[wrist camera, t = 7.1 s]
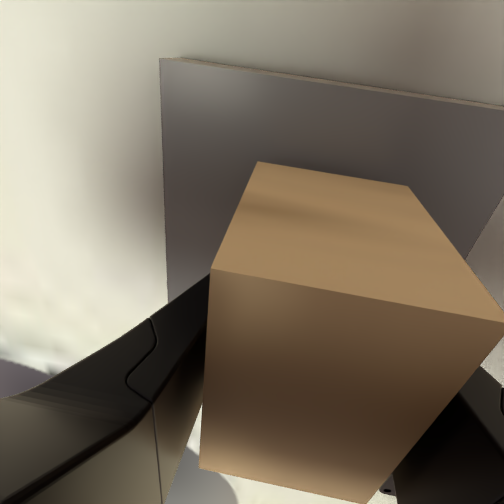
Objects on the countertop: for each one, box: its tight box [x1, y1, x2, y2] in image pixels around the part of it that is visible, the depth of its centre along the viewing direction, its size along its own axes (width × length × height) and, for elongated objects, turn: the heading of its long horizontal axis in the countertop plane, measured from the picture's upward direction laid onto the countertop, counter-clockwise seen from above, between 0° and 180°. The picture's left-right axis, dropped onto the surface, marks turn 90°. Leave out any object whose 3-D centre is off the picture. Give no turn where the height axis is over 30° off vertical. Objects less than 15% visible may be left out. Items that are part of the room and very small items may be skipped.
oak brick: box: [199, 161, 504, 504], centre depth 8 cm, size 6×4×5 cm, turn 173°
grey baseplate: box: [159, 58, 504, 303], centre depth 11 cm, size 10×10×2 cm
